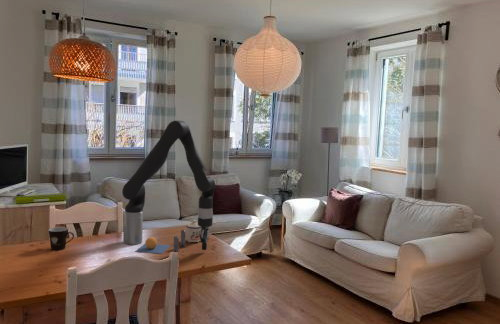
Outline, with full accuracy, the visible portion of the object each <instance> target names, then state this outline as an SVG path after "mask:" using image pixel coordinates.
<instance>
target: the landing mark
mask: <svg viewBox="0 0 500 324" xmlns="http://www.w3.org/2000/svg"><path fill="white" fill-rule="evenodd" d="M170 247H171V245H170V244H158V243H157V246H156V247H155V248H154V249H149V248H147V247H146V245H145V243H144V244H142V245H141V246H140V247H138V248H137V249H136V250H135V251H134V252H136V253H149V254H160V255H161V254H162V255H163V253H165V251H166V250H168V249H169V248H170Z"/></svg>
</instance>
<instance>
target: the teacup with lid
mask: <svg viewBox="0 0 500 324" xmlns="http://www.w3.org/2000/svg"><path fill="white" fill-rule="evenodd" d="M201 228H202V227H201V226H198V220H195V219H194V220H192V221H191V222H190V223H187V224H186V237H185V241H186V242H187V241H188V242H187V243H190V242H198V243H200V242H199V241H201V240H200V234H201V233H200V230H201Z"/></svg>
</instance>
